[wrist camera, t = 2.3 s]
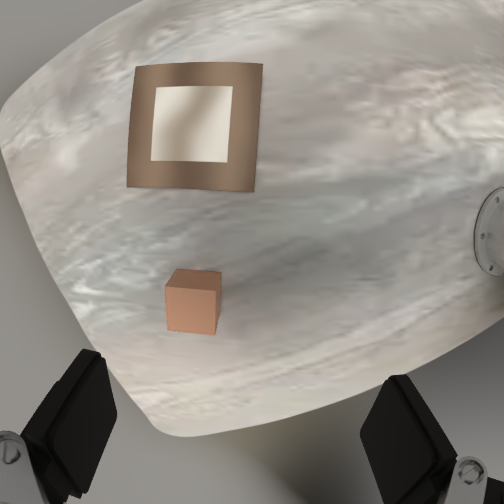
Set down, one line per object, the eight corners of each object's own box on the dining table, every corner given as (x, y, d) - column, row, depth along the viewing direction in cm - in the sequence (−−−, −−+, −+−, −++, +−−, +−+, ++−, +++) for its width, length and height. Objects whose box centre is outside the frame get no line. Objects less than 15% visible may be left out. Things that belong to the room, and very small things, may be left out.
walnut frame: (262, 75, 27) (263, 63, 23) (253, 188, 30) (253, 192, 26) (149, 76, 26) (135, 66, 22) (141, 183, 30) (125, 187, 26)
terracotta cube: (221, 272, 33) (215, 290, 28) (220, 312, 34) (214, 335, 30) (176, 268, 33) (164, 286, 28) (178, 308, 34) (167, 330, 29)
